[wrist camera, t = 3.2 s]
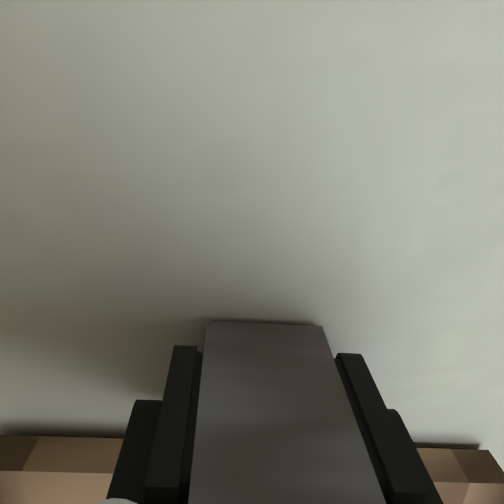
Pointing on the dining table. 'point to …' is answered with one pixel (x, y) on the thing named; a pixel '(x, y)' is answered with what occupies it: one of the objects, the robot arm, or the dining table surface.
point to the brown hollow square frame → (252, 436)
